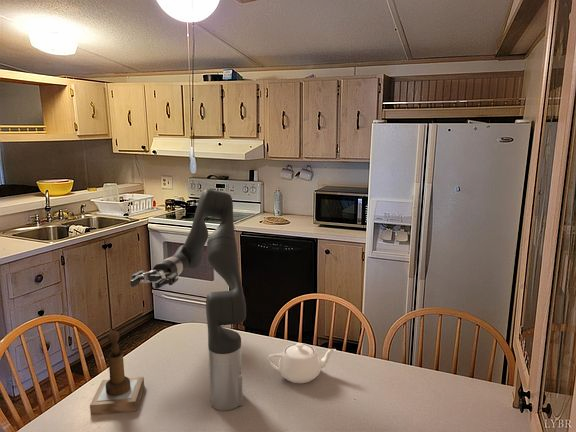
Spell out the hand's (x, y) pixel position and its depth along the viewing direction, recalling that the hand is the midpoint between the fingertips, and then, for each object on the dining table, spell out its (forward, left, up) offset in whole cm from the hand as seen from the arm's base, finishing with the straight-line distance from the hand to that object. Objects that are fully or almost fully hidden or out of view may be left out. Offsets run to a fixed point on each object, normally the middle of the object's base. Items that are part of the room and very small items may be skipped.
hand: (143, 285), depth 132 cm
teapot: (-49, +11, -29) cm, 58 cm away
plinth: (+6, +16, -29) cm, 34 cm away
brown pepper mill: (+6, +16, -26) cm, 31 cm away
